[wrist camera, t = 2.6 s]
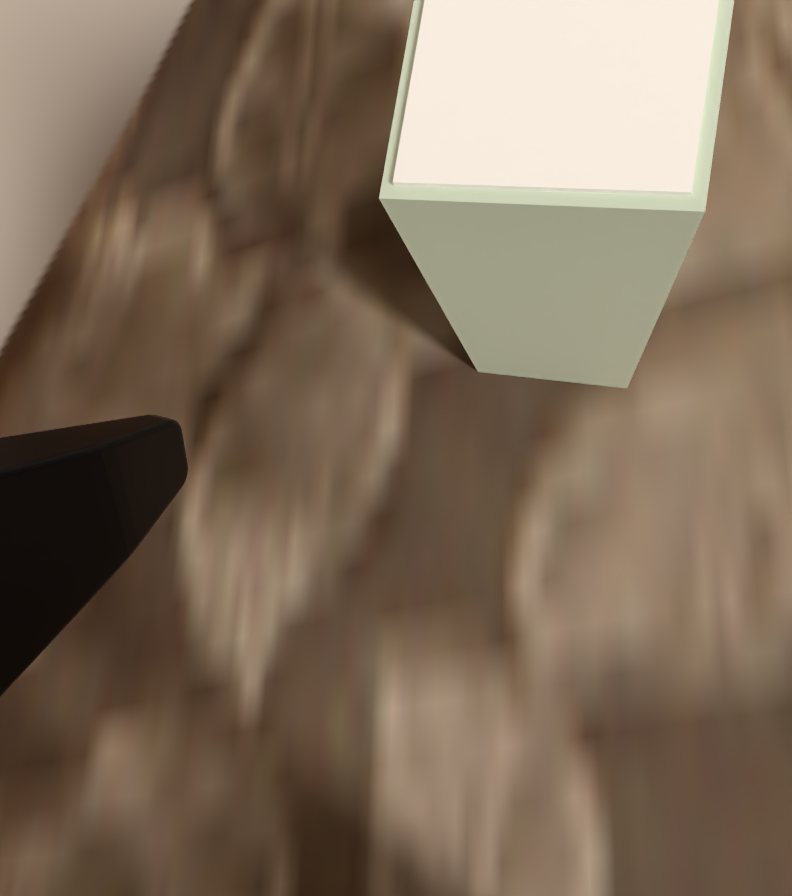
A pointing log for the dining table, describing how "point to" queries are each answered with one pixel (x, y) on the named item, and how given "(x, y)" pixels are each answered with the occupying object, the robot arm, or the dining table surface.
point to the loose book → (555, 171)
